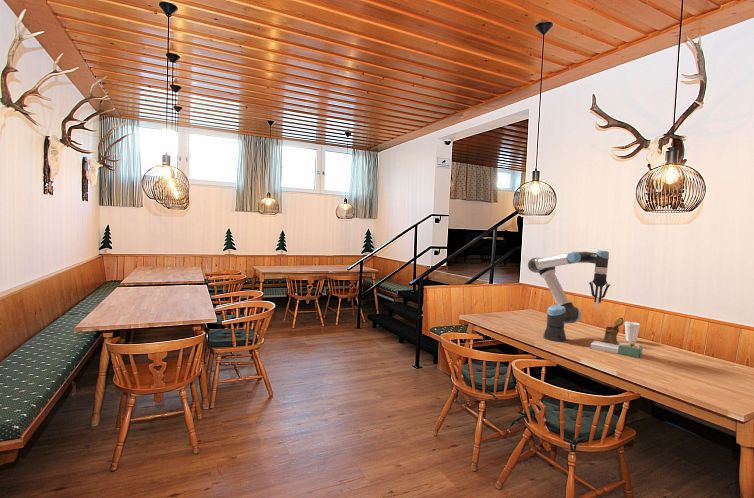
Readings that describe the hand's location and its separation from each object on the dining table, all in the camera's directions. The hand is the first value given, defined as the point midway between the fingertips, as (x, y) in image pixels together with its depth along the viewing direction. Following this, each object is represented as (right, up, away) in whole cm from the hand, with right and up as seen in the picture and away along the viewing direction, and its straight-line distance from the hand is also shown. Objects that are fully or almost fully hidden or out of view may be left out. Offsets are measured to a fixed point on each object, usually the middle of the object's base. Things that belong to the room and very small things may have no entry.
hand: (597, 307), depth 279 cm
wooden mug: (+16, -27, +9) cm, 33 cm away
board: (+2, -27, -7) cm, 28 cm away
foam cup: (+35, -27, +19) cm, 48 cm away
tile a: (+11, -25, -14) cm, 31 cm away
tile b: (+14, -23, -17) cm, 32 cm away
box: (+13, -28, -16) cm, 35 cm away
